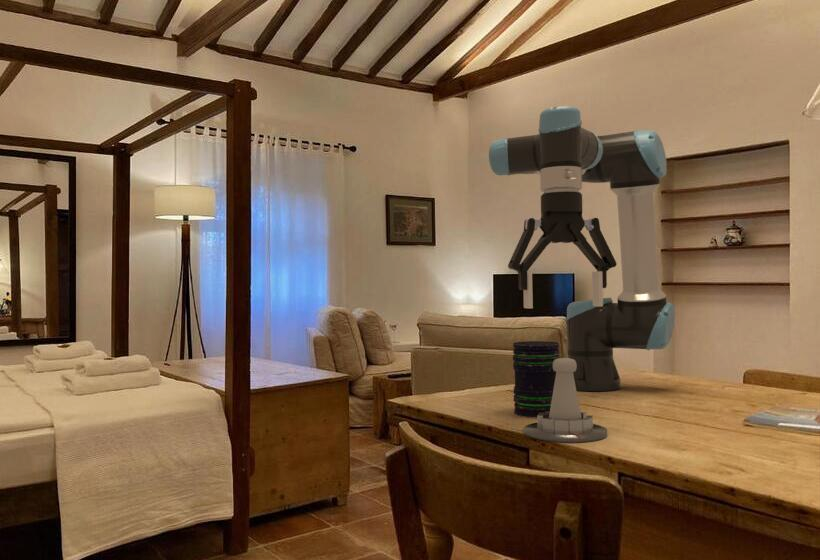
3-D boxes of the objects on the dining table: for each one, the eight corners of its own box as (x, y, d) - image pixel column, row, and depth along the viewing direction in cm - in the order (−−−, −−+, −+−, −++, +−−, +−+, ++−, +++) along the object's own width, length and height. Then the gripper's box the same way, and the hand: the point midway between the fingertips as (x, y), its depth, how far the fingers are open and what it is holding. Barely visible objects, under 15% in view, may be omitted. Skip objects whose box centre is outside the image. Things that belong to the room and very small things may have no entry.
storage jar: (567, 411, 149) (565, 342, 149) (551, 419, 141) (550, 346, 141) (523, 407, 154) (522, 340, 154) (506, 415, 146) (505, 344, 146)
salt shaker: (545, 430, 127) (543, 359, 127) (555, 424, 132) (554, 356, 132) (576, 433, 124) (575, 360, 124) (585, 427, 129) (584, 357, 129)
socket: (513, 427, 134) (513, 410, 134) (586, 423, 136) (585, 406, 136) (541, 445, 119) (541, 425, 119) (622, 440, 122) (622, 421, 122)
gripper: (502, 189, 122) (504, 309, 122) (633, 190, 126) (636, 306, 126) (490, 194, 129) (492, 308, 129) (614, 195, 134) (616, 304, 134)
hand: (563, 307), depth 128 cm, fingers open, 13 cm apart
